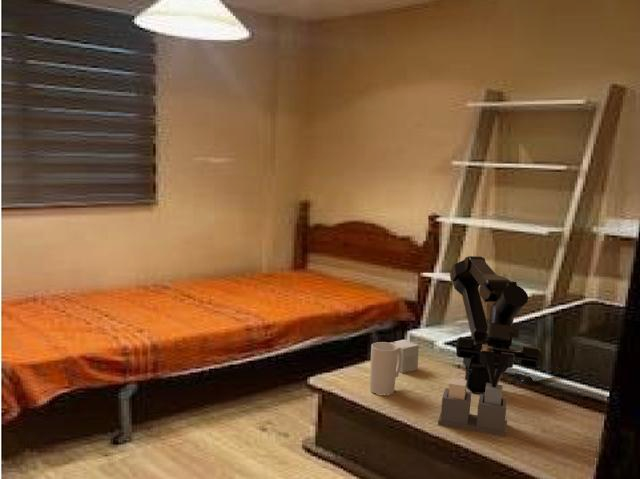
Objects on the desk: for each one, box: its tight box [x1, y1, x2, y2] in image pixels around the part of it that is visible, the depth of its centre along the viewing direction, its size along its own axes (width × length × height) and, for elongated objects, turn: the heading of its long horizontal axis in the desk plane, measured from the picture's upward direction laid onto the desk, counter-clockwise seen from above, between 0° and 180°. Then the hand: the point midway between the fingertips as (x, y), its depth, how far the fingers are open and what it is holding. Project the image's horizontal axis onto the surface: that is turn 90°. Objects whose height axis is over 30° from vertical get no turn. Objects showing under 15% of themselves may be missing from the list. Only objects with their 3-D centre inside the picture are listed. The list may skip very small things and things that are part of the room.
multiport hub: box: [514, 367, 562, 385], centre depth 175 cm, size 4×14×2 cm, turn 122°
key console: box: [437, 387, 508, 437], centre depth 143 cm, size 6×15×6 cm, turn 72°
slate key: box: [484, 383, 504, 406], centre depth 141 cm, size 4×4×7 cm
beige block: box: [448, 377, 467, 400], centre depth 144 cm, size 4×4×7 cm
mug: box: [369, 341, 402, 396], centre depth 161 cm, size 10×7×12 cm, turn 129°
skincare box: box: [389, 339, 420, 374], centre depth 177 cm, size 6×6×7 cm
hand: (494, 386), depth 140 cm, fingers closed, pressing on slate key
